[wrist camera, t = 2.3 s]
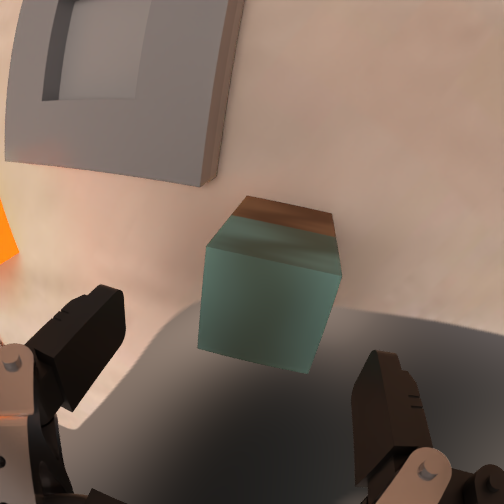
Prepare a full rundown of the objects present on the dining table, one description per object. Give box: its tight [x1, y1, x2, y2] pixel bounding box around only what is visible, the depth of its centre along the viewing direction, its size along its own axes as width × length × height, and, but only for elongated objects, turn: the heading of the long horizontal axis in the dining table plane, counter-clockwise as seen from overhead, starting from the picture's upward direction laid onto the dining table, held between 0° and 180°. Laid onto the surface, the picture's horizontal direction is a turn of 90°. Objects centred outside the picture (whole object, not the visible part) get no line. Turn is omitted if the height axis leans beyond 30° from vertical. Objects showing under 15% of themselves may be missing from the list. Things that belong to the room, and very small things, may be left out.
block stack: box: [198, 196, 342, 374], centre depth 14 cm, size 4×4×7 cm
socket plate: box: [5, 0, 245, 187], centre depth 13 cm, size 14×14×3 cm
